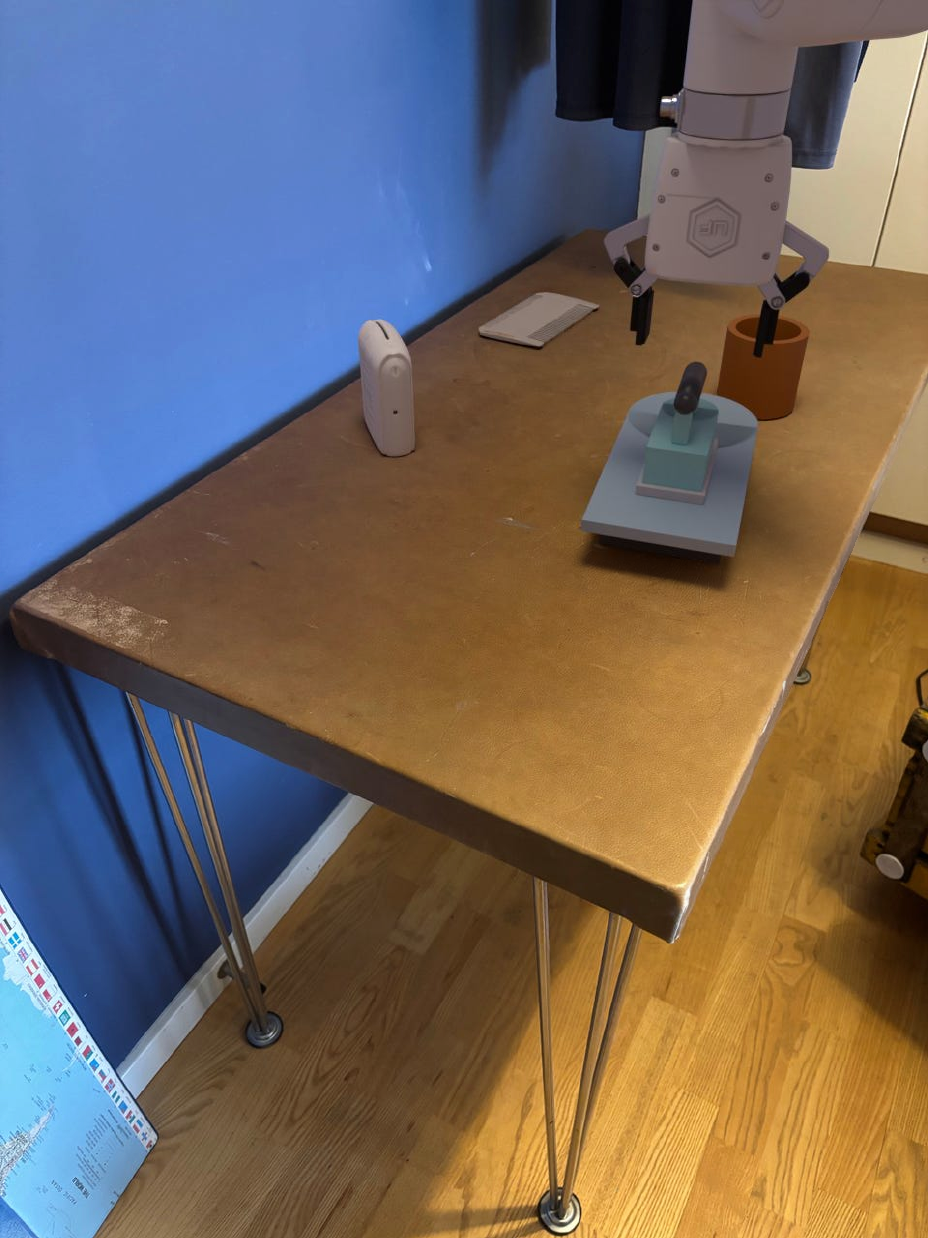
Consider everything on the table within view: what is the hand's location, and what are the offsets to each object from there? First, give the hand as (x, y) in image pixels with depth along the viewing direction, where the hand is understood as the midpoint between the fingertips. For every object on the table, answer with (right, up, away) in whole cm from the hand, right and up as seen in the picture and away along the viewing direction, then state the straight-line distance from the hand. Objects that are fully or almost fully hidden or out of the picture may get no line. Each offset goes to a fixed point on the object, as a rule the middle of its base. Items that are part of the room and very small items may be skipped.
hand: (699, 345), depth 77 cm
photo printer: (-28, -3, +24) cm, 37 cm away
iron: (0, -9, +8) cm, 12 cm away
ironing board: (+1, -11, +13) cm, 17 cm away
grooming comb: (-9, +19, +51) cm, 55 cm away
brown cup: (+15, +3, +31) cm, 35 cm away
